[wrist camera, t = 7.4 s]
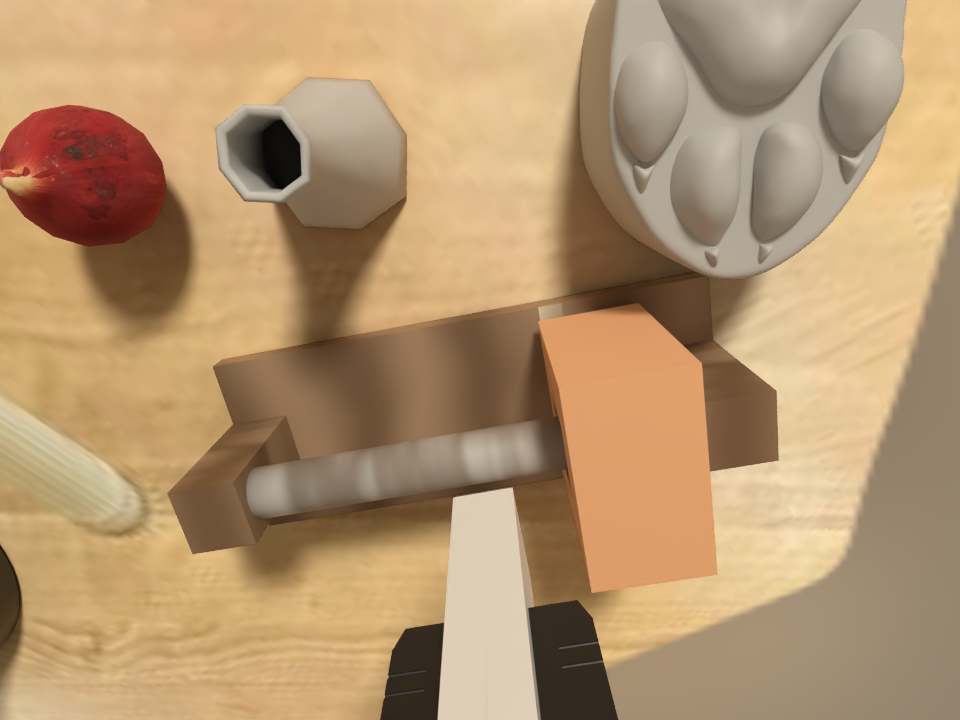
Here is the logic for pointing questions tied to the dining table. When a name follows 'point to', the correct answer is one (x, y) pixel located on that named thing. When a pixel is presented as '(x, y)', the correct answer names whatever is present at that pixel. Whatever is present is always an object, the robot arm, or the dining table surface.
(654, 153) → the lumpy-topped squat cylinder
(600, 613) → the dining table surface
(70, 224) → the onion
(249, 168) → the flask
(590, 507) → the collar
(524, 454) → the pipe stand
